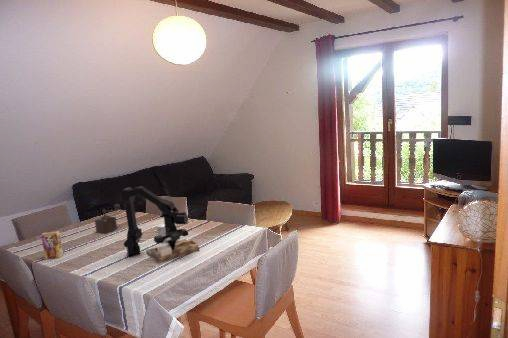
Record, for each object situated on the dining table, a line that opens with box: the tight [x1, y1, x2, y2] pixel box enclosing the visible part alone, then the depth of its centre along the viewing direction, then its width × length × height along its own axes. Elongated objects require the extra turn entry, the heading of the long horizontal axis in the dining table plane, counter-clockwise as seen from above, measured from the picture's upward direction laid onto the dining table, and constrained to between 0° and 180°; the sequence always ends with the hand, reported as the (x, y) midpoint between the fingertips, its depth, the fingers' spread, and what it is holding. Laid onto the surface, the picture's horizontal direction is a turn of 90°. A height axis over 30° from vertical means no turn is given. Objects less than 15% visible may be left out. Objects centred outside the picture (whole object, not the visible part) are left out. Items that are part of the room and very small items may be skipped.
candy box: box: [40, 231, 64, 260], centre depth 213 cm, size 9×4×15 cm, turn 96°
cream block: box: [156, 243, 172, 257], centre depth 202 cm, size 6×6×4 cm
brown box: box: [94, 203, 121, 235], centre depth 258 cm, size 16×11×18 cm
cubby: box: [174, 239, 199, 253], centre depth 210 cm, size 12×10×2 cm
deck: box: [145, 238, 200, 264], centre depth 209 cm, size 25×19×4 cm
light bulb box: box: [156, 223, 178, 244], centre depth 227 cm, size 11×7×11 cm, turn 74°
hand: (172, 250), depth 205 cm, fingers closed
